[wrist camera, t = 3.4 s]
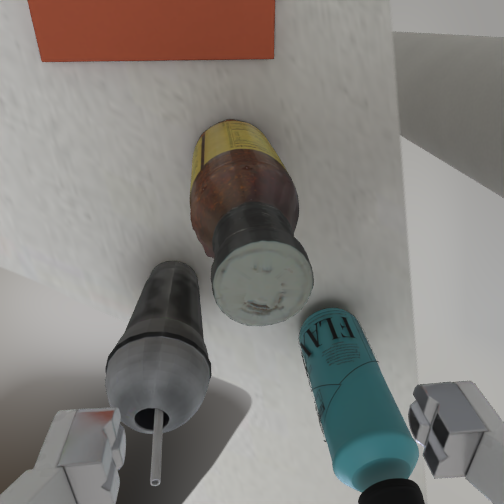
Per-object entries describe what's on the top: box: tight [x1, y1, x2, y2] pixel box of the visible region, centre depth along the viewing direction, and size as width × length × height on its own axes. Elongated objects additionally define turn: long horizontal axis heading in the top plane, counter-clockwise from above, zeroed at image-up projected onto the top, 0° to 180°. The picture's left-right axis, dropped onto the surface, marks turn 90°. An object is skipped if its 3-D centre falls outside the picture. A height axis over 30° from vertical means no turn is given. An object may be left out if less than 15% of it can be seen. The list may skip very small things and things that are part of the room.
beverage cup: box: [105, 261, 211, 486], centre depth 30 cm, size 7×7×20 cm
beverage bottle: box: [298, 308, 425, 504], centre depth 34 cm, size 6×7×20 cm
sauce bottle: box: [190, 119, 314, 326], centre depth 25 cm, size 7×6×20 cm
